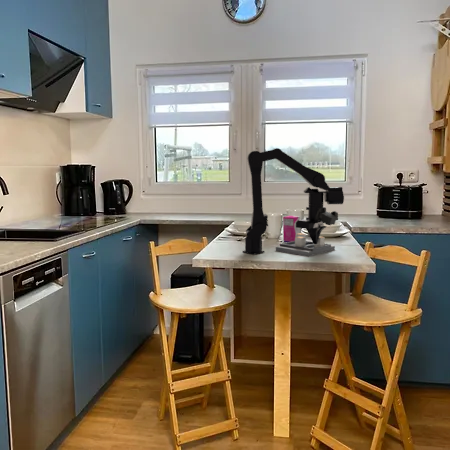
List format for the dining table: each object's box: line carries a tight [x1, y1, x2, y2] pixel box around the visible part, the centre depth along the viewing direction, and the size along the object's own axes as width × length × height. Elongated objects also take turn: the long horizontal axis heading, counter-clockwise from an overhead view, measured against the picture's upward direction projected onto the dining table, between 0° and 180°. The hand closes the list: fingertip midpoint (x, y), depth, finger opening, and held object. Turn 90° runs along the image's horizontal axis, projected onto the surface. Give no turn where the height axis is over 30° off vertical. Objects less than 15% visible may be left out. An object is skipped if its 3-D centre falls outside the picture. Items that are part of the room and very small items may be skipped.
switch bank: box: [275, 240, 336, 257], centre depth 185 cm, size 18×16×2 cm
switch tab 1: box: [295, 232, 307, 238], centre depth 191 cm, size 3×3×4 cm
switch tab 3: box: [314, 235, 326, 247], centre depth 183 cm, size 3×3×4 cm
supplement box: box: [282, 215, 301, 243], centre depth 204 cm, size 6×6×12 cm
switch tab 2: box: [295, 237, 307, 247], centre depth 182 cm, size 3×3×4 cm
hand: (315, 243), depth 181 cm, fingers closed
